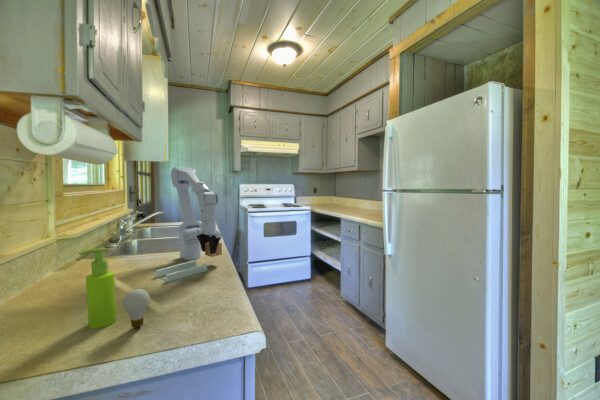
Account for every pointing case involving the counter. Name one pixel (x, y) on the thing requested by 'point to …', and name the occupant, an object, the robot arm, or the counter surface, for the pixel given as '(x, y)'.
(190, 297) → the counter surface
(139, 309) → the light bulb
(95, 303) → the soap dispenser
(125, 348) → the counter surface
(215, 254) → the cube
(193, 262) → the channel
